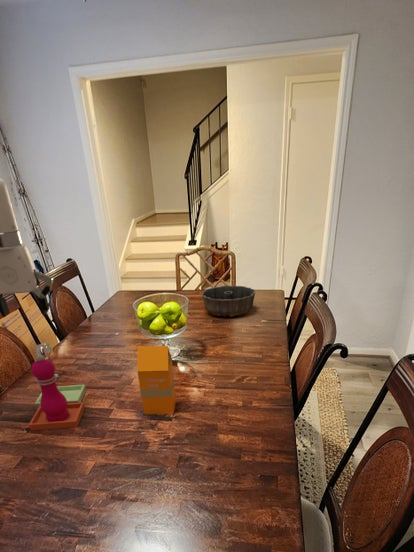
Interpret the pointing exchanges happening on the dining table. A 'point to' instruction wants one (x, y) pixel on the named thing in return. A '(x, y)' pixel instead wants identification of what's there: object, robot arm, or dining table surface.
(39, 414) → the terracotta tray
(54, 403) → the pepper mill
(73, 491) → the dining table surface
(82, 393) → the sage tray
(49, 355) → the wineglass
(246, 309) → the bundt pan
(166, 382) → the orange juice
